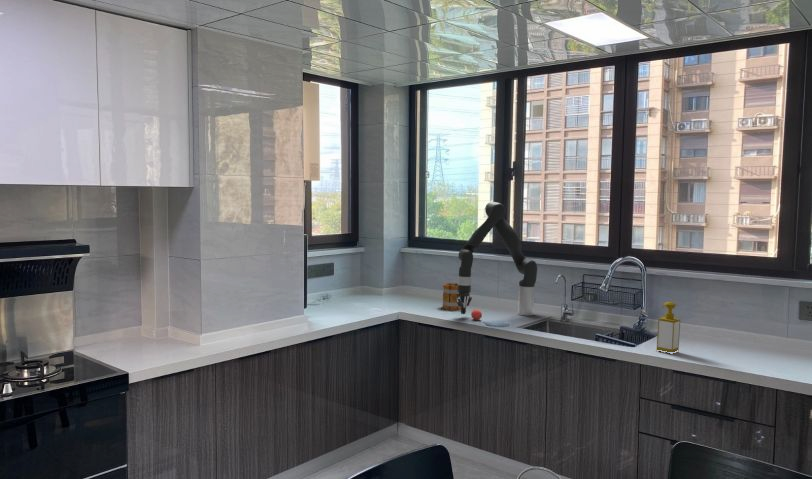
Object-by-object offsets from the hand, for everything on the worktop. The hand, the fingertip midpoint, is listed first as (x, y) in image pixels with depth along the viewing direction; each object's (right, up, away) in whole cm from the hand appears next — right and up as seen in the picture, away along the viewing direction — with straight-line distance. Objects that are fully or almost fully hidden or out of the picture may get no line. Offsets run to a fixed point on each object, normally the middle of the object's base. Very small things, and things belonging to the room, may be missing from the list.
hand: (463, 313), depth 351 cm
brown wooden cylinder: (-3, 0, +31) cm, 31 cm away
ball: (+7, 0, -6) cm, 10 cm away
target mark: (+17, -4, -16) cm, 24 cm away
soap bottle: (+87, -10, -70) cm, 112 cm away
